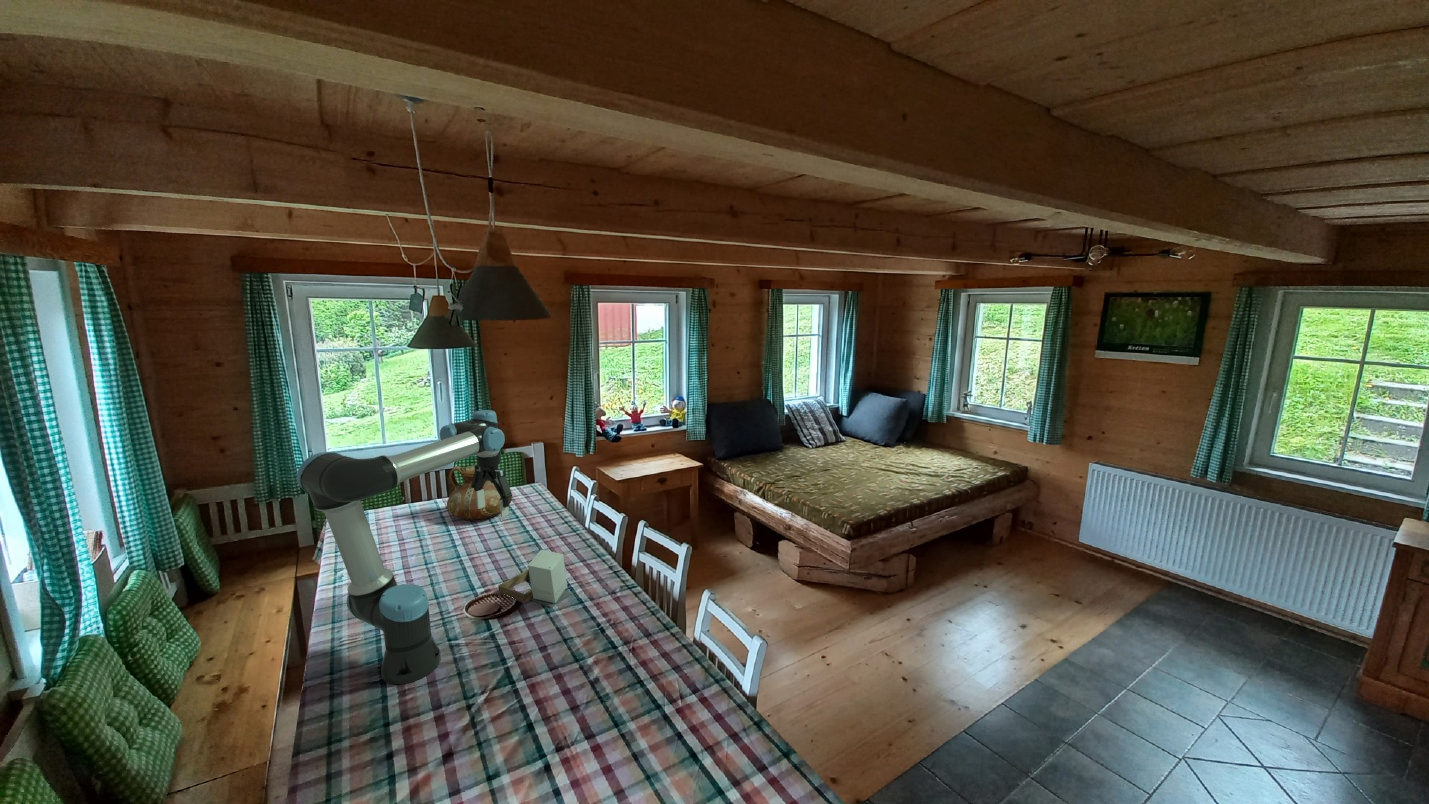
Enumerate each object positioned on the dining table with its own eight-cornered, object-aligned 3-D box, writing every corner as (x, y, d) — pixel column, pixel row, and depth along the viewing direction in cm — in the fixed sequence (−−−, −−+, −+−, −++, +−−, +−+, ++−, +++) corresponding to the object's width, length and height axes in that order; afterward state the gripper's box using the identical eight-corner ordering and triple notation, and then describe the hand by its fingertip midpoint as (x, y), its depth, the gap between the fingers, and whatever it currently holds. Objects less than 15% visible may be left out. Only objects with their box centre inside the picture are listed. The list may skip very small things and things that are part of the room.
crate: (524, 603, 189) (523, 595, 189) (498, 593, 196) (498, 585, 195) (553, 586, 201) (553, 578, 200) (528, 576, 208) (528, 569, 207)
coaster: (550, 607, 186) (550, 606, 186) (531, 599, 191) (530, 598, 191) (572, 594, 195) (572, 593, 195) (552, 587, 200) (552, 585, 200)
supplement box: (568, 586, 196) (564, 553, 189) (555, 604, 188) (550, 570, 182) (546, 580, 198) (541, 548, 192) (532, 598, 190) (526, 565, 184)
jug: (502, 498, 290) (498, 453, 286) (523, 514, 267) (519, 466, 263) (442, 512, 272) (437, 464, 267) (458, 531, 249) (453, 479, 244)
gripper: (520, 457, 185) (524, 515, 189) (476, 446, 199) (481, 501, 203) (501, 462, 179) (506, 522, 183) (457, 451, 193) (462, 507, 197)
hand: (493, 511), depth 193 cm, fingers open, 13 cm apart
